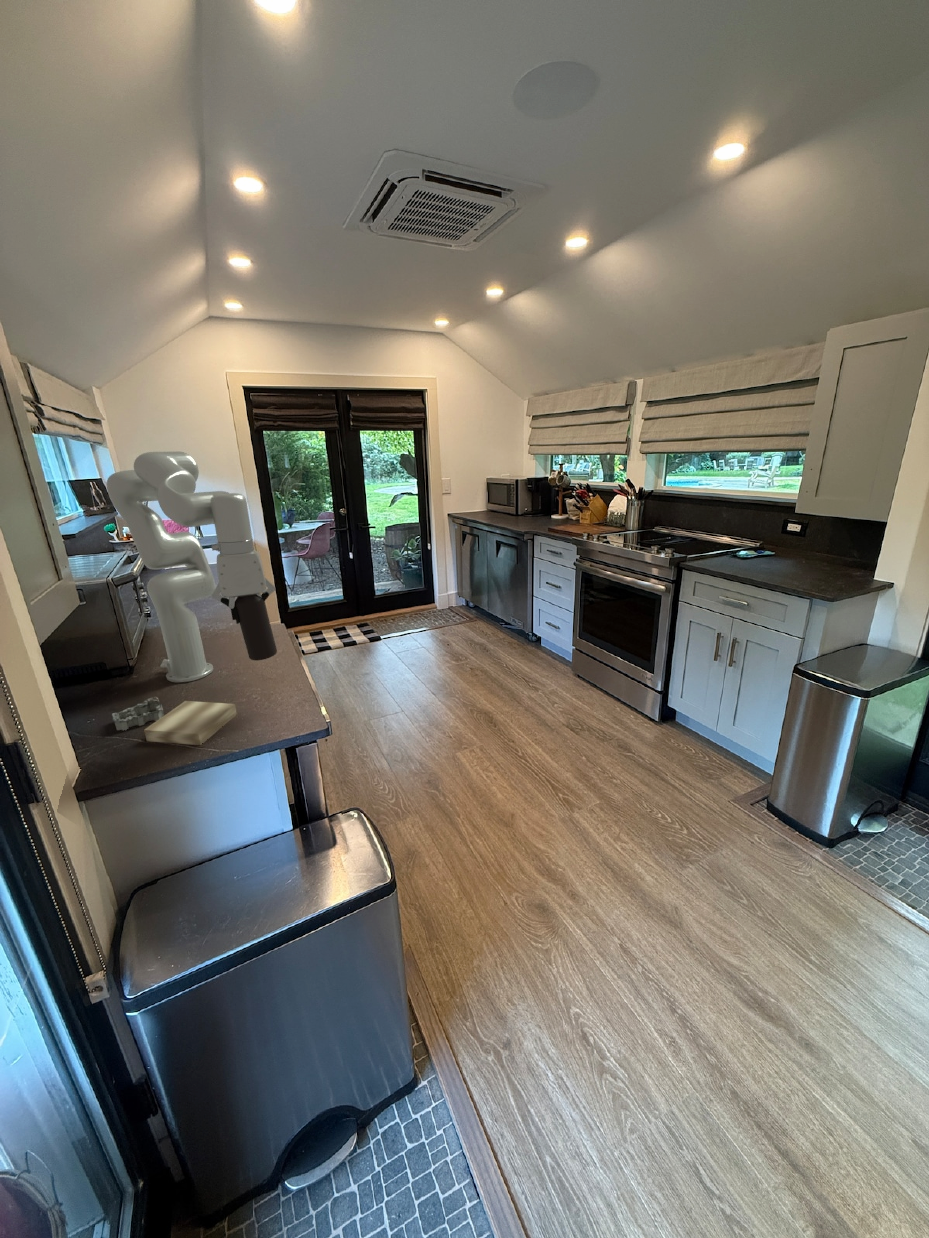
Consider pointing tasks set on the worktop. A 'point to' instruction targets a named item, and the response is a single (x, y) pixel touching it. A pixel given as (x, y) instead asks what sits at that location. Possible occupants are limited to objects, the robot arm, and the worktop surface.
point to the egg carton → (130, 714)
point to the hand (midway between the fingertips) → (249, 619)
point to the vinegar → (255, 627)
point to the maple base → (191, 723)
